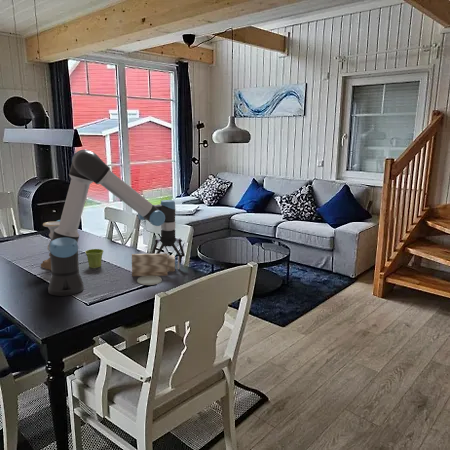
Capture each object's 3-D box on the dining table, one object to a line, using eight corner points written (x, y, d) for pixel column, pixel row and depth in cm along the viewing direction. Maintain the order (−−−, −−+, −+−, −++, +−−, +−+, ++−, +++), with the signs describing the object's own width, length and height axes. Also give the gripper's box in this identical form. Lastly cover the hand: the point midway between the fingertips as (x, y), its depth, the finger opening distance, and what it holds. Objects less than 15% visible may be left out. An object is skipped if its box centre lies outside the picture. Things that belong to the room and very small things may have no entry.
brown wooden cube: (174, 267, 220) (174, 254, 218) (174, 271, 213) (174, 258, 211) (161, 267, 218) (161, 254, 217) (161, 271, 212) (161, 258, 210)
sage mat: (152, 286, 190) (152, 285, 190) (132, 282, 195) (132, 281, 195) (166, 279, 201) (166, 278, 201) (146, 275, 205) (146, 274, 205)
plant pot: (101, 269, 211) (100, 254, 210) (83, 269, 211) (82, 253, 209) (106, 264, 221) (105, 249, 219) (89, 263, 220) (88, 248, 219)
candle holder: (58, 262, 221) (55, 220, 216) (71, 265, 216) (69, 222, 211) (40, 267, 212) (37, 223, 207) (53, 271, 207) (50, 226, 202)
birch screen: (167, 272, 210) (167, 252, 207) (167, 275, 206) (167, 255, 204) (132, 273, 207) (132, 253, 205) (131, 276, 203) (131, 255, 201)
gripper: (189, 227, 216) (188, 266, 221) (146, 227, 213) (146, 267, 217) (190, 230, 209) (189, 270, 214) (145, 231, 205) (146, 271, 210)
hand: (168, 268), depth 216 cm, fingers open, 10 cm apart
